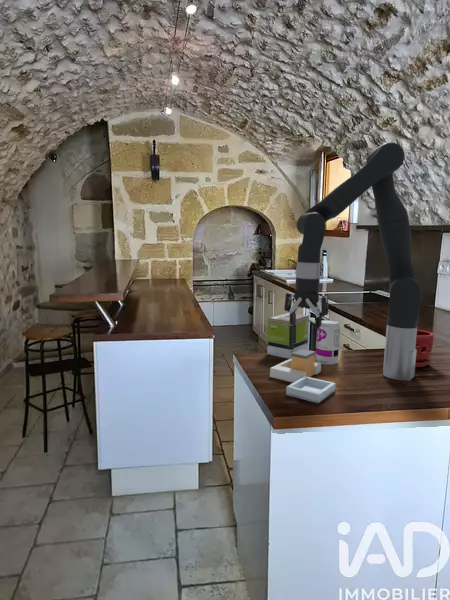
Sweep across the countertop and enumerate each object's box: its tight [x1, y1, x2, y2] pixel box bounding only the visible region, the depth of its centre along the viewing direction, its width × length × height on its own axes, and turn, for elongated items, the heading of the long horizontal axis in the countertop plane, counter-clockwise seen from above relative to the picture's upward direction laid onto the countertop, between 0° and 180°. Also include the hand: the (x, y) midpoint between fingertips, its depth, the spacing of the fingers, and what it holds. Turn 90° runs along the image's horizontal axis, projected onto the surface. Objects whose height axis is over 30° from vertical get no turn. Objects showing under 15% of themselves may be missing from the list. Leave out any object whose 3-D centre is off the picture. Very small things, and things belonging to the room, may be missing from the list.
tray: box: [285, 376, 336, 404], centre depth 126 cm, size 10×12×2 cm
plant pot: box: [415, 329, 434, 368], centre depth 158 cm, size 13×13×12 cm
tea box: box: [266, 312, 310, 360], centre depth 168 cm, size 15×10×15 cm, turn 141°
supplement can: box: [315, 319, 341, 366], centre depth 157 cm, size 8×8×15 cm
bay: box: [269, 357, 322, 383], centre depth 143 cm, size 11×16×3 cm
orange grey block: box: [291, 349, 316, 378], centre depth 141 cm, size 5×7×8 cm
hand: (304, 326), depth 140 cm, fingers open, 8 cm apart
